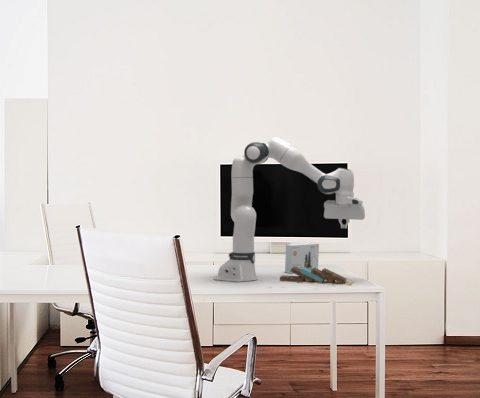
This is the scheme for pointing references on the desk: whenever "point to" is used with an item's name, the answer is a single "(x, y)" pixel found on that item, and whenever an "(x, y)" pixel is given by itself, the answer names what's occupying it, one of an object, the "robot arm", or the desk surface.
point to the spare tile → (307, 272)
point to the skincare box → (301, 256)
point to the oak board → (328, 282)
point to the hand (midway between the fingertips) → (344, 228)
